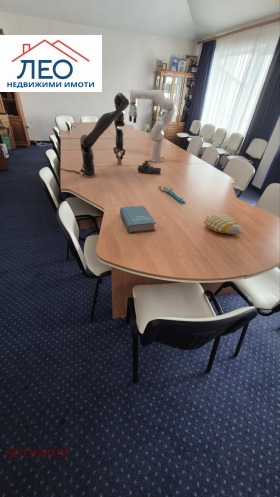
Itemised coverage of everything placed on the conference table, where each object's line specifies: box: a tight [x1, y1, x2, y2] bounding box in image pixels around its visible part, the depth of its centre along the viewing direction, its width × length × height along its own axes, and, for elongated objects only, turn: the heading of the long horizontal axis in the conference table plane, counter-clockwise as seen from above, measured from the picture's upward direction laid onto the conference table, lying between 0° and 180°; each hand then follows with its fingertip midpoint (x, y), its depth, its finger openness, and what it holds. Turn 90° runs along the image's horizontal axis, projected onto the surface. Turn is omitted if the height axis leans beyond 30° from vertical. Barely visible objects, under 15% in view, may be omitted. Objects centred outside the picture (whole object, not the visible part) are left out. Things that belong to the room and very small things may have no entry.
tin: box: [116, 154, 123, 166], centre depth 231 cm, size 4×4×9 cm
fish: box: [203, 213, 245, 235], centre depth 133 cm, size 25×8×20 cm
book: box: [119, 205, 156, 233], centre depth 136 cm, size 23×16×5 cm
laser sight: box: [137, 160, 162, 175], centre depth 213 cm, size 10×22×10 cm, turn 78°
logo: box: [158, 185, 186, 204], centre depth 176 cm, size 34×10×1 cm, turn 16°
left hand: (119, 158), depth 230 cm, fingers open, 4 cm apart
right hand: (132, 122), depth 248 cm, fingers open, 9 cm apart
